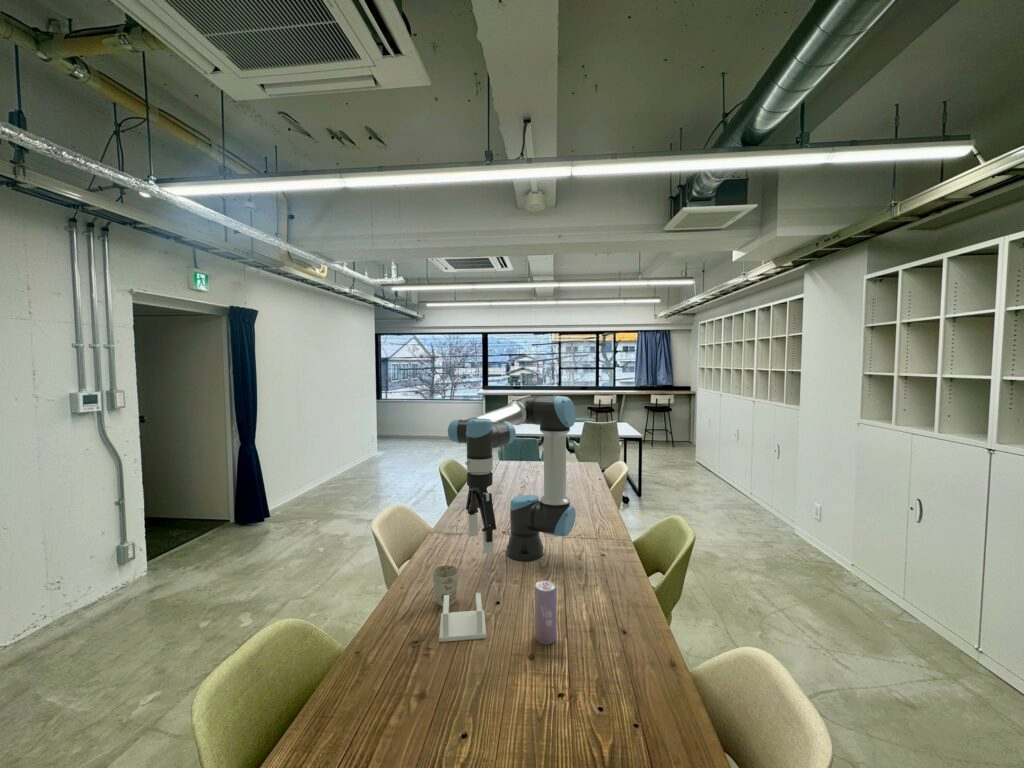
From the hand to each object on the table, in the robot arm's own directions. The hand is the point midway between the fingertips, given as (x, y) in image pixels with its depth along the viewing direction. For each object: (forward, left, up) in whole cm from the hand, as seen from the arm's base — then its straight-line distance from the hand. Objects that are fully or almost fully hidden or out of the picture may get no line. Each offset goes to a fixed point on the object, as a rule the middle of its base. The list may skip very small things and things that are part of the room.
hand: (480, 543), depth 124 cm
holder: (+5, -2, -24) cm, 25 cm away
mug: (0, -19, -24) cm, 31 cm away
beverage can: (-9, +18, -24) cm, 31 cm away
